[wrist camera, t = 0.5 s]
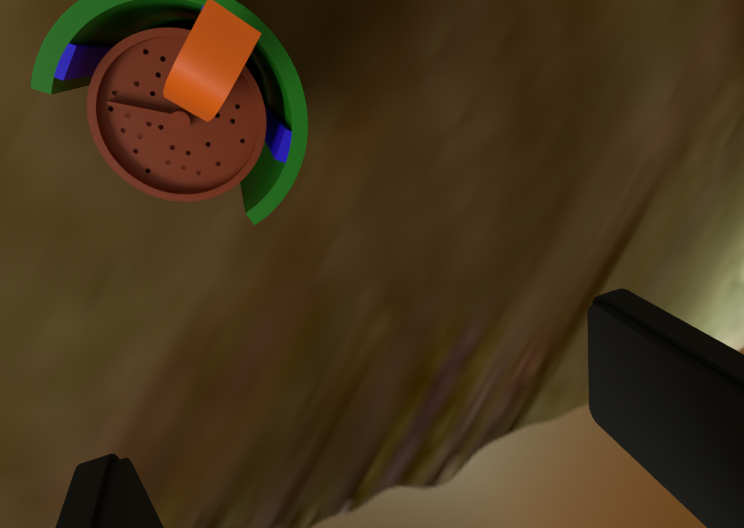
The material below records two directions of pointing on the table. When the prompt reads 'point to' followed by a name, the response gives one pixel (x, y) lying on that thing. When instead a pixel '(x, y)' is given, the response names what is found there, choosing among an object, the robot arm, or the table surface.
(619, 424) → the robot arm
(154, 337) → the table surface
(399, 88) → the table surface
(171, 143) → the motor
